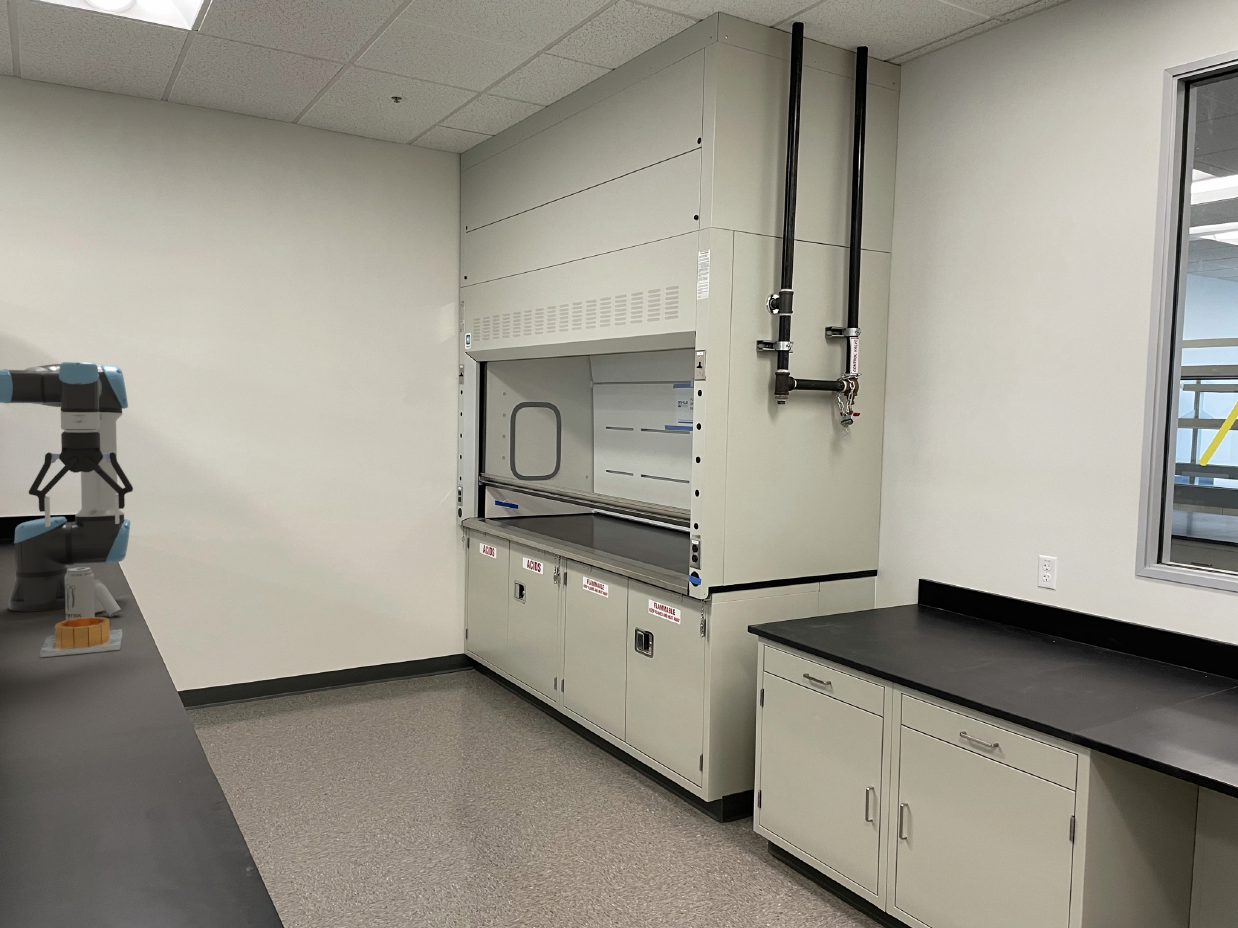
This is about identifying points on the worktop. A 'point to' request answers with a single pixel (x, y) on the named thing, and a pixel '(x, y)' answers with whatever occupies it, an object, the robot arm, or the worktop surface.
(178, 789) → the worktop surface
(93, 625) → the keeper
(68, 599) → the energy drink can
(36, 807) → the worktop surface
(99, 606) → the wall hook
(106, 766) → the worktop surface
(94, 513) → the robot arm
